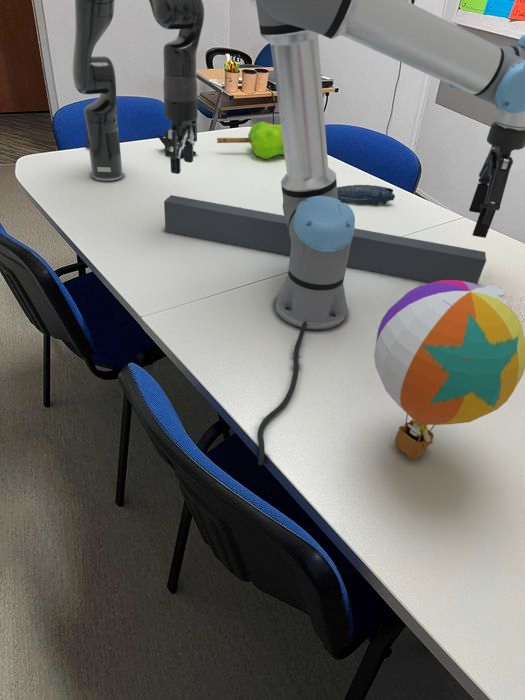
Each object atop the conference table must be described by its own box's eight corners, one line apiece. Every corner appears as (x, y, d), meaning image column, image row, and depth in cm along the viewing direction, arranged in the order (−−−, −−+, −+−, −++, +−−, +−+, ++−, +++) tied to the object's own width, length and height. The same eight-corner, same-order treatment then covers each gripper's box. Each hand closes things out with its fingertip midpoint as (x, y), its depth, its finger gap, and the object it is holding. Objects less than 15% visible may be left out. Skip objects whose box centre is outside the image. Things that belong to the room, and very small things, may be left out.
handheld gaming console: (200, 148, 184) (184, 127, 176) (190, 164, 183) (174, 144, 175) (177, 144, 191) (162, 124, 182) (167, 160, 189) (151, 141, 181)
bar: (473, 282, 128) (485, 251, 123) (474, 291, 125) (486, 260, 119) (171, 224, 140) (170, 194, 135) (165, 231, 137) (163, 201, 131)
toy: (324, 440, 84) (359, 279, 65) (398, 390, 94) (447, 240, 76) (424, 525, 73) (502, 362, 54) (495, 458, 83) (581, 302, 65)
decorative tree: (214, 118, 187) (294, 118, 193) (214, 147, 194) (292, 146, 199) (220, 132, 174) (307, 132, 179) (220, 164, 180) (304, 162, 185)
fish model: (393, 208, 159) (397, 192, 156) (325, 201, 160) (327, 185, 157) (391, 200, 165) (395, 185, 161) (325, 193, 165) (328, 178, 162)
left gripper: (177, 87, 123) (178, 156, 133) (152, 100, 112) (156, 174, 122) (207, 91, 122) (206, 160, 132) (184, 105, 111) (186, 179, 121)
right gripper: (487, 107, 114) (457, 200, 127) (498, 139, 95) (462, 244, 108) (523, 112, 113) (489, 205, 126) (541, 145, 94) (499, 250, 107)
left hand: (182, 167), depth 127 cm, fingers open, 8 cm apart
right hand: (476, 223), depth 117 cm, fingers open, 13 cm apart
